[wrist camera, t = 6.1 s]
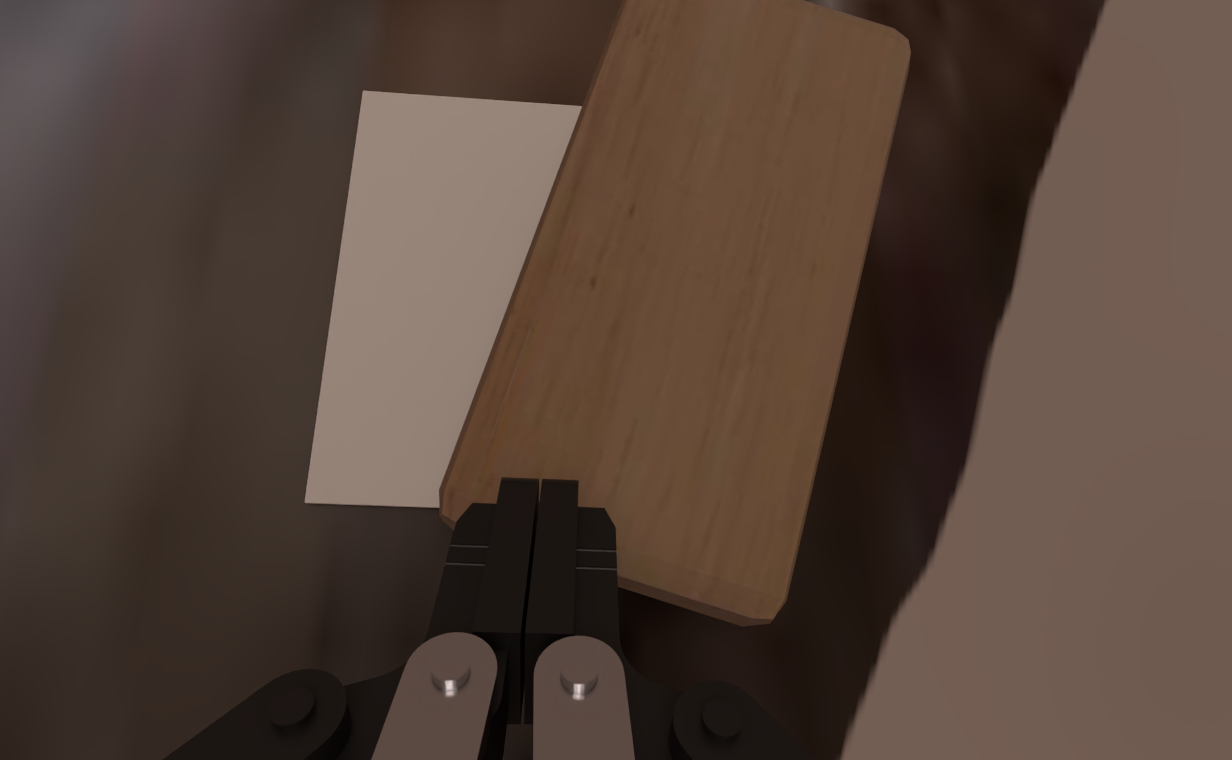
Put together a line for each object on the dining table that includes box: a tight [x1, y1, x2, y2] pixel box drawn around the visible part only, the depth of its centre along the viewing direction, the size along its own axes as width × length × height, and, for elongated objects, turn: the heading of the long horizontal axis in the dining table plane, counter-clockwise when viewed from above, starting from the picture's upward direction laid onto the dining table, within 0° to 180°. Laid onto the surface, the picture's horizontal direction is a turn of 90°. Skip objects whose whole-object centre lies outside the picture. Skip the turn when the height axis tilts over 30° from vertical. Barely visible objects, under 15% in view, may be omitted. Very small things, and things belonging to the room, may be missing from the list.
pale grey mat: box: [305, 91, 582, 508], centre depth 30 cm, size 20×19×1 cm
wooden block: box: [439, 0, 911, 626], centre depth 24 cm, size 10×10×20 cm
